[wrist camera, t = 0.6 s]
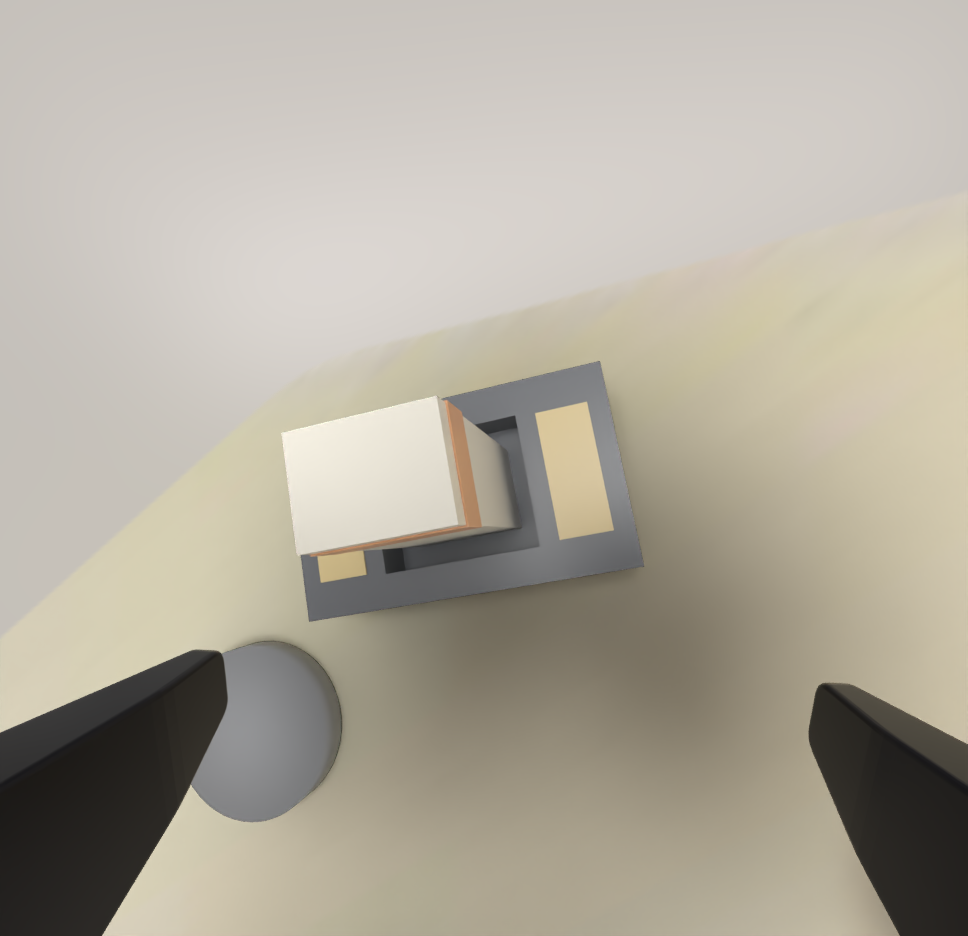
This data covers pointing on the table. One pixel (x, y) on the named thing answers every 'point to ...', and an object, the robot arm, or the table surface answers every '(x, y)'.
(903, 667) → the table surface
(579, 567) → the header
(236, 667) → the coaster
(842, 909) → the table surface
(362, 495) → the plug
